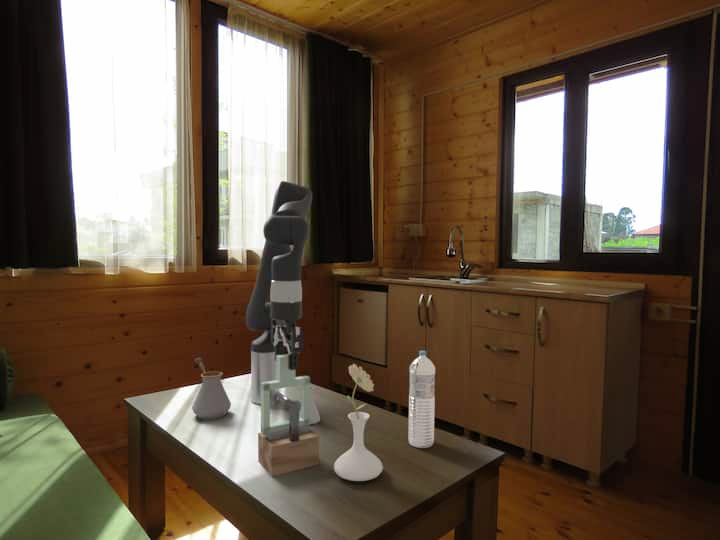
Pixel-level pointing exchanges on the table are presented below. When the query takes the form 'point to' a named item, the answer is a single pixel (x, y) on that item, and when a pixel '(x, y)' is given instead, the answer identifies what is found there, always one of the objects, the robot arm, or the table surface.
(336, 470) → the flower in vase
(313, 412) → the flask
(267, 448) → the wooden block
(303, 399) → the square frame with post
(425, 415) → the water bottle
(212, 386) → the coffee pot
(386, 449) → the table surface
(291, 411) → the bent wire
